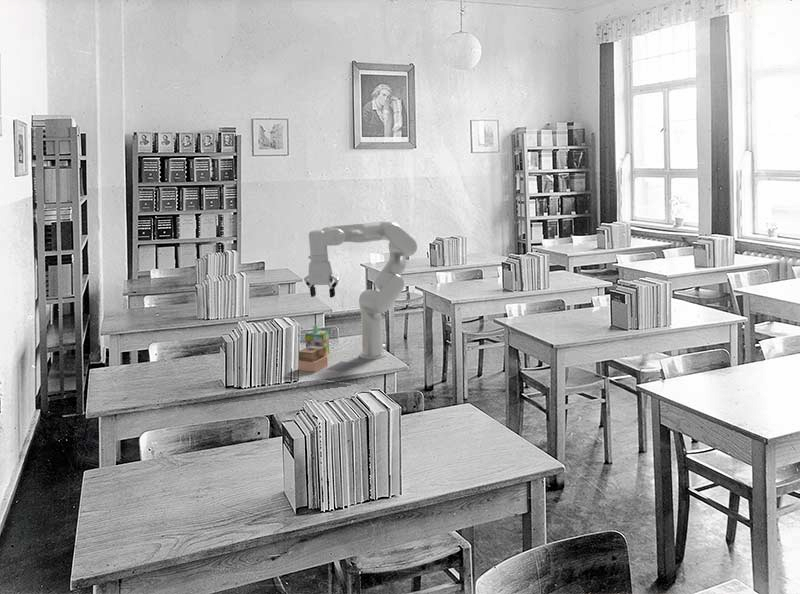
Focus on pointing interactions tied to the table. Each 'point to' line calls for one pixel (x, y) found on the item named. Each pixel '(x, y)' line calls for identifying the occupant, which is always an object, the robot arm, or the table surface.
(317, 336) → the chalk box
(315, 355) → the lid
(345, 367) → the mat
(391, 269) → the robot arm
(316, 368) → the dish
